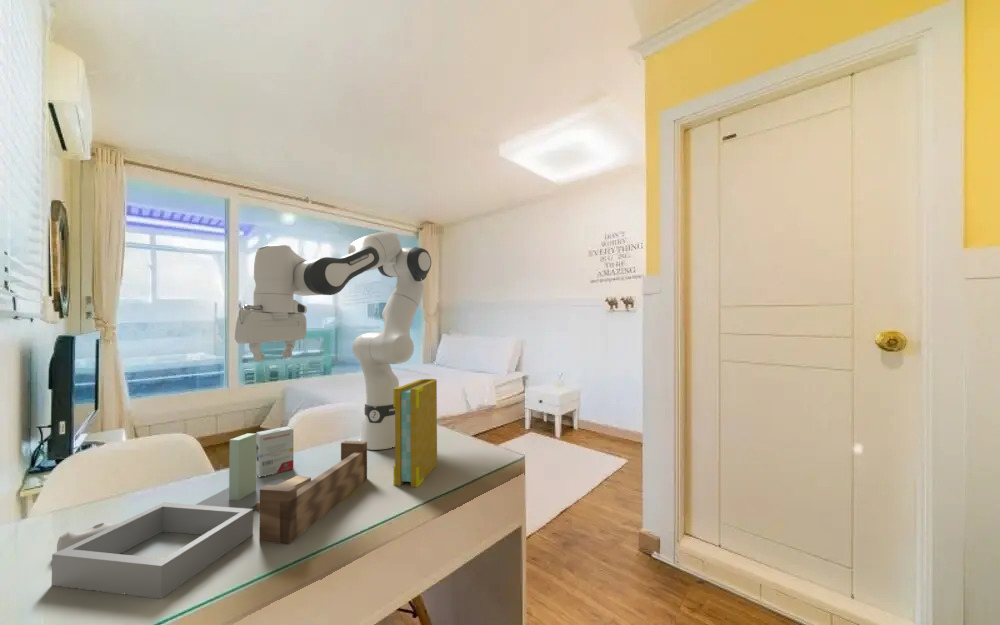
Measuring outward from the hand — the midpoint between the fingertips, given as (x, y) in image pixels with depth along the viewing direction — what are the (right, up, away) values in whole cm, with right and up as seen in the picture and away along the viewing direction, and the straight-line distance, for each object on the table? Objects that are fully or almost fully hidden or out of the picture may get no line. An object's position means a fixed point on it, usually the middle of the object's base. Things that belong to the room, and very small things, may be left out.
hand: (273, 359), depth 93 cm
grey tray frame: (-3, -32, -28) cm, 43 cm away
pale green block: (-4, -32, -6) cm, 33 cm away
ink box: (-6, -34, +10) cm, 36 cm away
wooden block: (+8, -33, -7) cm, 35 cm away
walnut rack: (+17, -33, -10) cm, 38 cm away
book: (+36, -33, +8) cm, 50 cm away
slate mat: (-4, -33, -6) cm, 34 cm away
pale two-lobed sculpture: (-20, -33, -24) cm, 46 cm away
